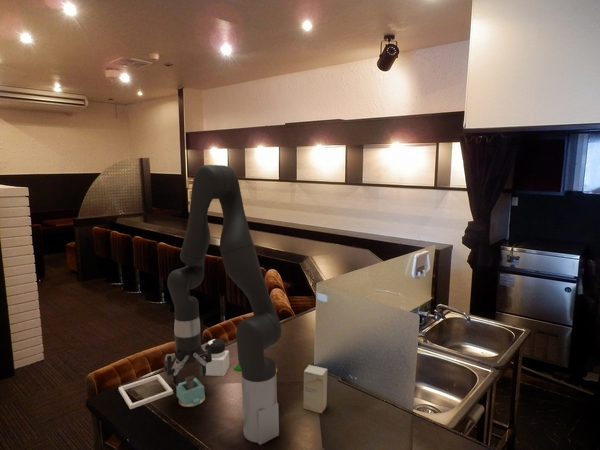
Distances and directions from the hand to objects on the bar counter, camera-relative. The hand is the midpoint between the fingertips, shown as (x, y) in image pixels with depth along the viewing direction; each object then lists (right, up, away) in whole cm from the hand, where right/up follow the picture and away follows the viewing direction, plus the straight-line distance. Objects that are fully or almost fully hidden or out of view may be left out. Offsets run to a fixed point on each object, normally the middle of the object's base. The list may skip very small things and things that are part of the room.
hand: (189, 380), depth 122 cm
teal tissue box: (0, -5, 0) cm, 5 cm away
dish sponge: (+19, -5, +18) cm, 26 cm away
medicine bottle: (+5, -4, +17) cm, 18 cm away
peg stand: (+1, -7, 0) cm, 7 cm away
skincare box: (+39, -7, -3) cm, 40 cm away
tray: (-15, -6, +4) cm, 17 cm away
